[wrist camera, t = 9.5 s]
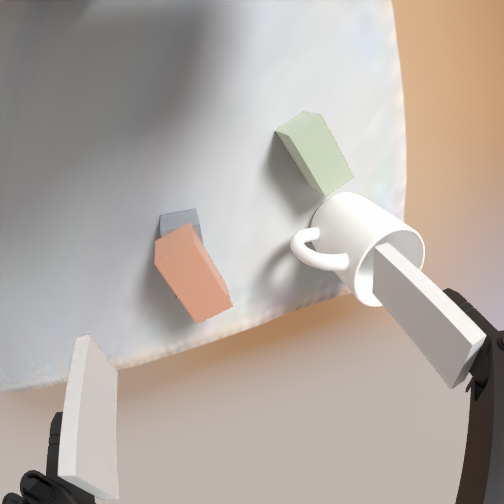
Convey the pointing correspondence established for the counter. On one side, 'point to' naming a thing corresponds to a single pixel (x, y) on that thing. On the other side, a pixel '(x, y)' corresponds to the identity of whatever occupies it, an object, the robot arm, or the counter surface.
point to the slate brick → (179, 222)
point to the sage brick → (315, 152)
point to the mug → (354, 241)
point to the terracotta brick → (191, 273)
